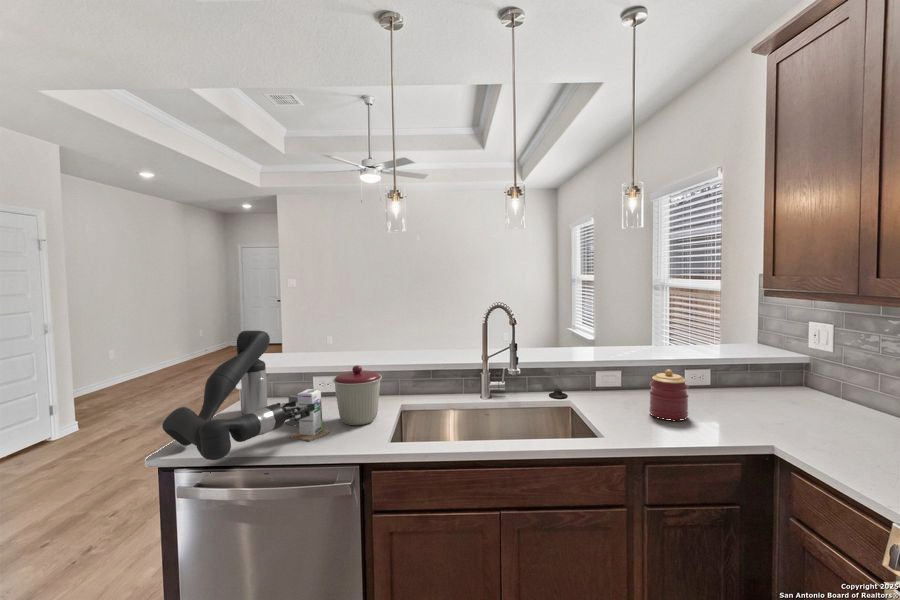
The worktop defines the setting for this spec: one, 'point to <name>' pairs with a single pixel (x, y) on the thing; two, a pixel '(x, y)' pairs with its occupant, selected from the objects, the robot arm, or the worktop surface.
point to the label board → (291, 421)
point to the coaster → (308, 437)
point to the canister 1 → (357, 395)
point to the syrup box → (314, 421)
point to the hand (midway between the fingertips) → (304, 405)
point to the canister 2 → (669, 396)
